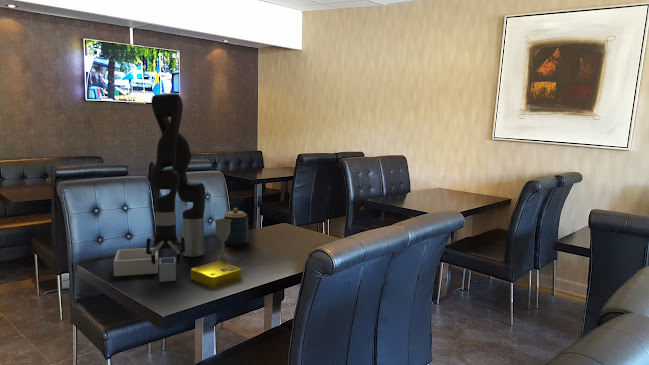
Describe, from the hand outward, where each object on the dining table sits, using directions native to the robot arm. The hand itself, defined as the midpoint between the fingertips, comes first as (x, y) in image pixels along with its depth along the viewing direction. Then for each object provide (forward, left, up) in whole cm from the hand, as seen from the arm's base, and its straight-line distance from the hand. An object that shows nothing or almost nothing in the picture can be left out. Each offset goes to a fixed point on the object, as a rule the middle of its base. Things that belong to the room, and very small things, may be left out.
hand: (165, 263), depth 182 cm
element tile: (-19, +5, -6) cm, 20 cm away
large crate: (+11, -14, -6) cm, 19 cm away
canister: (-33, -45, -6) cm, 56 cm away
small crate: (-1, 0, -6) cm, 6 cm away
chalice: (-24, -17, -6) cm, 30 cm away
